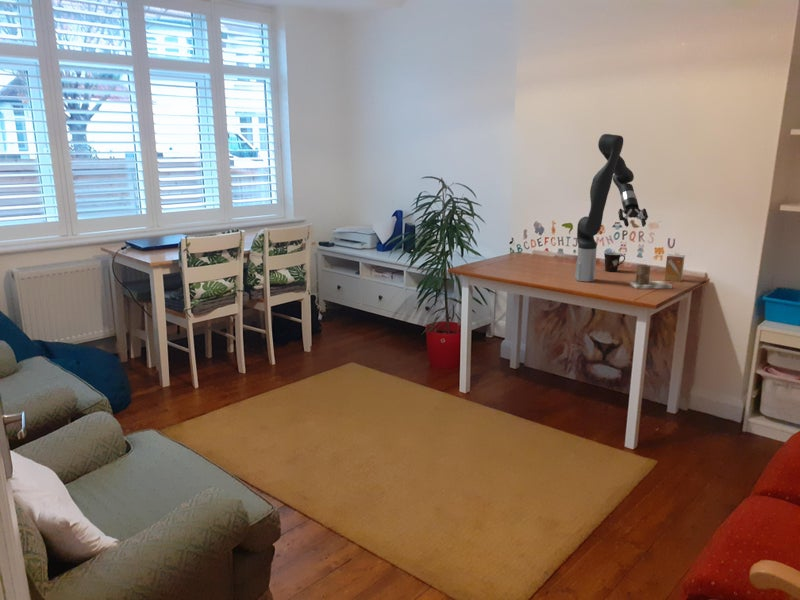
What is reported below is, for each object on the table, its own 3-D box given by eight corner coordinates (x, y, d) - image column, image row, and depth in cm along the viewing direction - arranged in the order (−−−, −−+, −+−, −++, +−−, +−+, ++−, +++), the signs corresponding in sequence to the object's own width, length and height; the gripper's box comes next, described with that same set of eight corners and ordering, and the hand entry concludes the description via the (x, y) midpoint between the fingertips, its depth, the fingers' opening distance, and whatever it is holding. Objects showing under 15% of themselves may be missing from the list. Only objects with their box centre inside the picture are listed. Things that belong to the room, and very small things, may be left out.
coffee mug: (603, 272, 347) (605, 254, 345) (602, 269, 355) (603, 251, 353) (625, 273, 345) (627, 255, 342) (624, 269, 353) (625, 252, 350)
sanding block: (639, 284, 310) (641, 266, 308) (635, 282, 315) (637, 264, 313) (648, 284, 310) (650, 266, 308) (644, 282, 315) (646, 264, 313)
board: (636, 288, 308) (636, 285, 308) (628, 284, 318) (628, 281, 318) (672, 288, 308) (672, 285, 308) (663, 283, 318) (663, 280, 318)
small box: (664, 280, 326) (666, 255, 323) (665, 277, 332) (668, 253, 328) (680, 281, 322) (683, 257, 319) (682, 279, 328) (684, 255, 324)
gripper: (618, 196, 325) (624, 221, 317) (645, 196, 325) (652, 221, 317) (613, 206, 332) (619, 230, 323) (640, 205, 332) (647, 230, 323)
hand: (635, 225), depth 320 cm, fingers open, 8 cm apart
